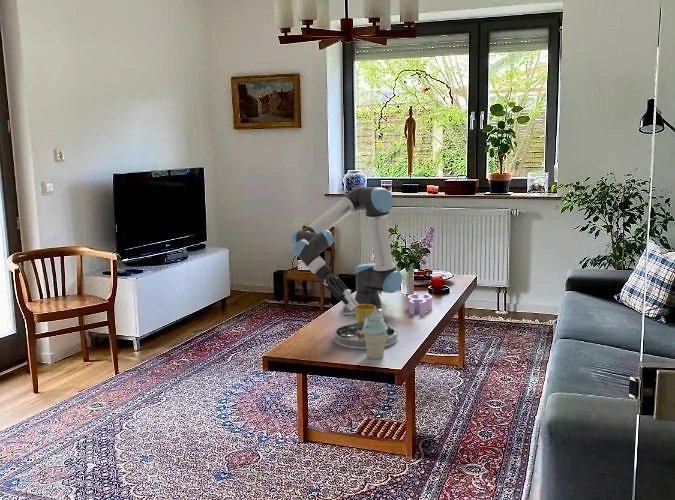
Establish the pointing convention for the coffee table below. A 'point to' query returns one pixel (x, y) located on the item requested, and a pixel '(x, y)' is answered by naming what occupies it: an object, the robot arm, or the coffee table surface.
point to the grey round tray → (360, 335)
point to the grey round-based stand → (346, 310)
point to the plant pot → (364, 311)
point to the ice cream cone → (375, 335)
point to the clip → (419, 304)
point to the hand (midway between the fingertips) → (354, 307)
